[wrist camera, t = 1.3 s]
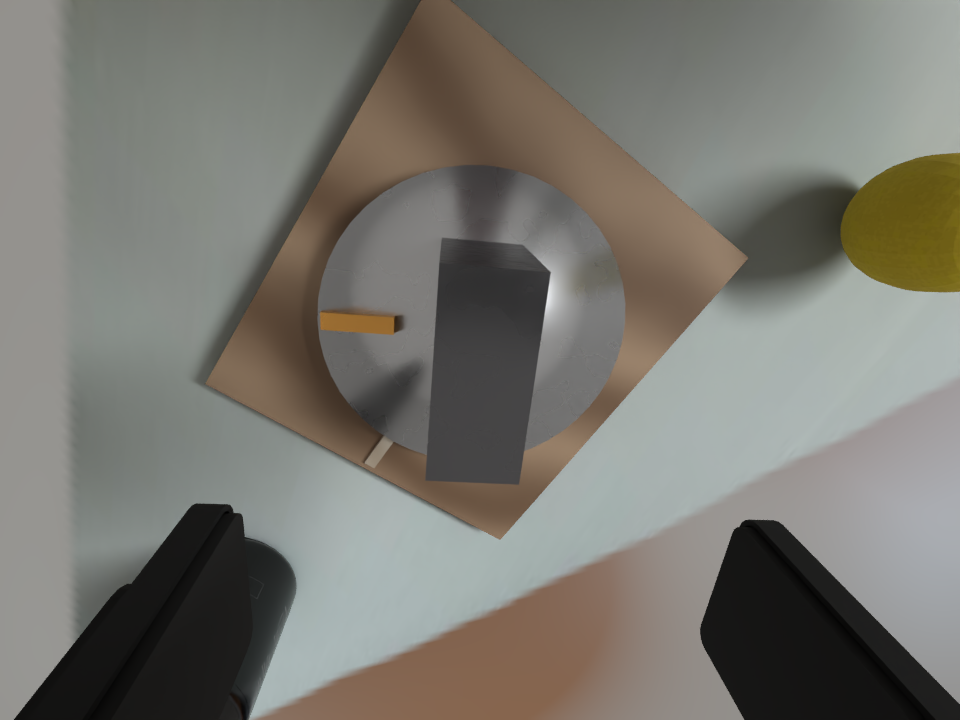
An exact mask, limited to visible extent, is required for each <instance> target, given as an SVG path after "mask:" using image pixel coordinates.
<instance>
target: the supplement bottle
mask: <svg viewBox="0 0 960 720" xmlns="http://www.w3.org/2000/svg"><path fill="white" fill-rule="evenodd" d="M245 545H246V556H247V567H248V577H249V588H250V598H251V609H252V620H253V631H252V637H251V641H250V645H249V647H248V650H247V653H246V655H245V657H244V660H243V662H242V665H241V667H240V670H239V672H238V674H237V677H236V679H235V682H234V684H233V687H232V689H231V691H230V694H229V696H228V699H227V701H226V704H225V706H224V708H223V711H222V713H221V716H220V718H219V720H249V718H250V715H251V712H252V710H253V707H254V704H255V702H256V699H257V697H258V694H259V691H260V689H261V686H262V683H263V681H264V678H265V675H266V673H267V670H268V668H269V665H270V662H271V660H272V657H273V654H274V652H275V649H276V646H277V644H278V641H279V639H280V636H281V633H282V631H283V628H284V625H285V623H286V620H287V618H288V615H289V612H290V609H291V607H292V604H293V601H294V598H295V594H296V578H295V574H294V572H293V569H292V567H291V566H290V564H289V563H288V561H287V560H286V559H285V558H284V557H283V556H282V555H281V554H280V553H279V552H278V551H276V550H275V549H273V548H271V547H270V546H268V545H266V544H263V543H261V542H258V541H255V540H250V539H245Z"/></svg>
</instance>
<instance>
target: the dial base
mask: <svg viewBox="0 0 960 720" xmlns="http://www.w3.org/2000/svg"><path fill="white" fill-rule="evenodd" d="M462 165H485V166H495V167H500V168H506V169H512V170H515V171H518V172H521V173H524V174H527V175H530V176H533V177H535V178H537V179H539V180H541V181H543V182H545V183H547V184H550V185H552V186H553V187H555V188H556V189H558V190H559V191H561V192H562V193H564V194H565V195H566V196H568V197H569V198H571V199H572V200H573V201H574V202H575V203H576V204H577V205H578V206H580V207H581V208H582V209H583V210H584V211H585V212H586V213H587V214H588V215H589V217H590V218H591V219H592V220H593V222H594V223H595V224H596V225H597V226H598V228H599V229H600V231H601V232H602V234H603V236H604V237H605V239H606V241H607V242H608V244H609V246H610V248H611V250H612V252H613V255H614V257H615V259H616V262H617V264H618V267H619V271H620V275H621V279H622V282H623V289H624V297H625V326H624V333H623V340H622V344H621V347H620V351H619V354H618V358H617V360H616V363H615V365H614V368H613V370H612V372H611V375H610V377H609V378H608V380H607V382H606V383H605V385H604V387H603V389H602V390H601V392H600V393H599V395H598V396H597V397H596V399H595V400H594V401H593V402H592V404H591V405H590V406H589V407H588V408H587V409H586V410H585V412H584V413H583V414H582V415H581V416H580V417H579V418H578V419H577V420H575V421H574V422H573V423H572V424H571V425H569V426H568V427H567V428H566V429H564V430H563V431H562V432H560V433H559V434H557V435H555V436H554V437H552V438H551V439H549V440H548V441H545V442H543V443H541V444H539V445H537V446H535V447H533V448H531V449H528V450H525V451H524V455H523V462H522V469H521V475H520V482H519V485H514V484H490V483H467V482H444V481H425V476H426V461H427V455H425V454H422V453H419V452H416V451H414V450H411V449H408V448H406V447H404V446H402V445H400V444H398V443H396V442H394V441H392V440H390V439H389V438H387V437H386V436H384V435H382V434H381V433H379V432H378V431H376V430H375V429H374V428H373V427H372V426H370V425H369V424H368V423H367V422H366V421H364V420H363V419H362V418H361V417H360V416H359V415H358V414H357V412H356V411H355V410H354V409H353V408H352V407H351V406H350V405H349V403H348V402H347V401H346V399H345V398H344V397H343V395H342V394H341V392H340V391H339V389H338V387H337V385H336V384H335V382H334V380H333V378H332V376H331V374H330V372H329V369H328V367H327V364H326V362H325V359H324V356H323V352H322V348H321V343H320V339H319V330H318V320H317V316H318V297H319V292H320V286H321V281H322V277H323V274H324V271H325V268H326V265H327V262H328V259H329V257H330V255H331V253H332V251H333V249H334V247H335V245H336V243H337V241H338V240H339V238H340V237H341V235H342V234H343V233H344V231H345V230H346V228H347V227H348V225H349V224H350V223H351V222H352V220H353V219H354V218H355V217H356V216H357V215H358V214H359V213H360V212H361V211H362V210H363V209H364V208H365V207H366V206H367V205H368V204H369V203H371V202H372V201H373V200H374V199H376V198H377V197H378V196H379V195H381V194H382V193H383V192H385V191H387V190H389V189H390V188H392V187H394V186H395V185H397V184H399V183H400V182H402V181H405V180H407V179H409V178H412V177H414V176H417V175H419V174H422V173H425V172H429V171H433V170H436V169H440V168H444V167H453V166H462ZM747 259H748V257H747V256H746V255H745V254H743V253H742V252H741V251H740V250H739V249H738V248H736V247H735V246H734V245H733V244H732V243H731V242H730V241H728V240H727V239H726V238H725V237H724V236H723V235H721V234H720V233H719V232H718V231H717V230H716V229H715V228H713V227H712V226H711V225H710V224H709V223H708V222H706V221H705V220H704V219H703V218H702V217H701V216H699V215H698V214H697V213H696V212H695V211H694V210H693V209H691V208H690V207H689V206H688V205H687V204H686V203H684V202H683V201H682V200H681V199H680V198H679V197H677V196H676V195H675V194H674V193H673V192H672V191H671V190H669V189H668V188H667V187H666V186H665V185H664V184H662V183H661V182H660V181H659V180H658V179H657V178H656V177H654V176H653V175H652V174H651V173H650V172H649V171H647V170H646V169H645V168H644V167H643V166H642V165H640V164H639V163H638V162H637V161H636V160H635V159H634V158H632V157H631V156H630V155H629V154H628V153H627V152H625V151H624V150H623V149H622V148H621V147H620V146H619V145H617V144H616V143H615V142H614V141H613V140H612V139H610V138H609V137H608V136H607V135H606V134H605V133H603V132H602V131H601V130H600V129H599V128H598V127H597V126H595V125H594V124H593V123H592V122H591V121H590V120H588V119H587V118H586V117H585V116H584V115H583V114H582V113H580V112H579V111H578V110H577V109H576V108H575V107H573V106H572V105H571V104H570V103H569V102H568V101H566V100H565V99H564V98H563V97H562V96H561V95H560V94H558V93H557V92H556V91H555V90H554V89H553V88H551V87H550V86H549V85H548V84H547V83H546V82H544V81H543V80H542V79H541V78H540V77H539V76H538V75H536V74H535V73H534V72H533V71H532V70H531V69H529V68H528V67H527V66H526V65H525V64H524V63H523V62H521V61H520V60H519V59H518V58H517V57H516V56H514V55H513V54H512V53H511V52H510V51H509V50H507V49H506V48H505V47H504V46H503V45H502V44H501V43H499V42H498V41H497V40H496V39H495V38H494V37H492V36H491V35H490V34H489V33H488V32H487V31H486V30H484V29H483V28H482V27H481V26H480V25H479V24H477V23H476V22H475V21H474V20H473V19H472V18H470V17H469V16H468V15H467V14H466V13H465V12H464V11H462V10H461V9H460V8H459V7H458V6H457V5H455V4H454V3H453V2H452V1H451V0H421V1H420V3H419V5H418V7H417V8H416V10H415V12H414V14H413V15H412V17H411V19H410V21H409V23H408V24H407V26H406V28H405V30H404V31H403V33H402V35H401V37H400V39H399V40H398V42H397V44H396V46H395V47H394V49H393V51H392V53H391V55H390V56H389V58H388V60H387V62H386V63H385V65H384V67H383V69H382V70H381V72H380V74H379V76H378V78H377V79H376V81H375V83H374V85H373V86H372V88H371V90H370V92H369V94H368V95H367V97H366V99H365V101H364V102H363V104H362V106H361V108H360V110H359V111H358V113H357V115H356V117H355V118H354V120H353V122H352V124H351V126H350V127H349V129H348V131H347V133H346V134H345V136H344V138H343V140H342V142H341V143H340V145H339V147H338V149H337V150H336V152H335V154H334V156H333V158H332V159H331V161H330V163H329V165H328V166H327V168H326V170H325V172H324V174H323V175H322V177H321V179H320V181H319V182H318V184H317V186H316V188H315V190H314V191H313V193H312V195H311V197H310V198H309V200H308V202H307V204H306V205H305V207H304V209H303V211H302V213H301V214H300V216H299V218H298V220H297V221H296V223H295V225H294V227H293V229H292V230H291V232H290V234H289V236H288V237H287V239H286V241H285V243H284V245H283V246H282V248H281V250H280V252H279V253H278V255H277V257H276V259H275V261H274V262H273V264H272V266H271V268H270V269H269V271H268V273H267V275H266V277H265V278H264V280H263V282H262V284H261V285H260V287H259V289H258V291H257V293H256V294H255V296H254V298H253V300H252V301H251V303H250V305H249V307H248V309H247V310H246V312H245V314H244V316H243V317H242V319H241V321H240V323H239V325H238V326H237V328H236V330H235V332H234V333H233V335H232V337H231V339H230V340H229V342H228V344H227V346H226V348H225V349H224V351H223V353H222V355H221V356H220V358H219V360H218V362H217V364H216V365H215V367H214V369H213V371H212V372H211V374H210V376H209V378H208V380H207V381H206V383H205V384H206V385H208V386H210V387H212V388H214V389H216V390H218V391H219V392H221V393H223V394H225V395H227V396H229V397H231V398H233V399H235V400H236V401H238V402H240V403H242V404H244V405H246V406H248V407H250V408H252V409H253V410H255V411H257V412H259V413H261V414H263V415H265V416H267V417H269V418H271V419H272V420H274V421H276V422H278V423H280V424H282V425H284V426H286V427H288V428H289V429H291V430H293V431H295V432H297V433H299V434H301V435H303V436H305V437H306V438H308V439H310V440H312V441H314V442H316V443H318V444H320V445H322V446H324V447H325V448H327V449H329V450H331V451H333V452H335V453H337V454H339V455H341V456H342V457H344V458H346V459H348V460H350V461H352V462H354V463H356V464H358V465H359V466H361V467H363V468H365V469H367V470H369V471H371V472H373V473H375V474H376V475H378V476H380V477H382V478H384V479H386V480H388V481H390V482H392V483H394V484H395V485H397V486H399V487H401V488H403V489H405V490H407V491H409V492H411V493H412V494H414V495H416V496H418V497H420V498H422V499H424V500H426V501H428V502H429V503H431V504H433V505H435V506H437V507H439V508H441V509H443V510H445V511H447V512H448V513H450V514H452V515H454V516H456V517H458V518H460V519H462V520H464V521H465V522H467V523H469V524H471V525H473V526H475V527H477V528H479V529H481V530H482V531H484V532H486V533H488V534H490V535H492V536H494V537H496V538H498V539H501V538H502V537H503V536H504V535H505V534H506V533H507V531H508V530H509V529H510V528H511V527H512V526H513V525H514V524H515V522H516V521H517V520H518V519H519V518H520V517H521V516H522V514H523V513H524V512H525V511H526V510H527V509H528V508H529V507H530V505H531V504H532V503H533V502H534V501H535V500H536V499H537V497H538V496H539V495H540V494H541V493H542V492H543V491H544V490H545V488H546V487H547V486H548V485H549V484H550V483H551V482H552V480H553V479H554V478H555V477H556V476H557V475H558V474H559V472H560V471H561V470H562V469H563V468H564V467H565V466H566V465H567V463H568V462H569V461H570V460H571V459H572V458H573V457H574V455H575V454H576V453H577V452H578V451H579V450H580V449H581V448H582V446H583V445H584V444H585V443H586V442H587V441H588V440H589V438H590V437H591V436H592V435H593V434H594V433H595V432H596V431H597V429H598V428H599V427H600V426H601V425H602V424H603V423H604V421H605V420H606V419H607V418H608V417H609V416H610V415H611V413H612V412H613V411H614V410H615V409H616V408H617V407H618V406H619V404H620V403H621V402H622V401H623V400H624V399H625V398H626V396H627V395H628V394H629V393H630V392H631V391H632V390H633V389H634V387H635V386H636V385H637V384H638V383H639V382H640V381H641V379H642V378H643V377H644V376H645V375H646V374H647V373H648V372H649V370H650V369H651V368H652V367H653V366H654V365H655V364H656V362H657V361H658V360H659V359H660V358H661V357H662V356H663V354H664V353H665V352H666V351H667V350H668V349H669V348H670V347H671V345H672V344H673V343H674V342H675V341H676V340H677V339H678V337H679V336H680V335H681V334H682V333H683V332H684V331H685V330H686V328H687V327H688V326H689V325H690V324H691V323H692V322H693V320H694V319H695V318H696V317H697V316H698V315H699V314H700V313H701V311H702V310H703V309H704V308H705V307H706V306H707V305H708V303H709V302H710V301H711V300H712V299H713V298H714V297H715V295H716V294H717V293H718V292H719V291H720V290H721V289H722V288H723V286H724V285H725V284H726V283H727V282H728V281H729V280H730V278H731V277H732V276H733V275H734V274H735V273H736V272H737V271H738V269H739V268H740V267H741V266H742V265H743V264H744V263H745V261H746V260H747Z"/></svg>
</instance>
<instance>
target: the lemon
mask: <svg viewBox="0 0 960 720" xmlns="http://www.w3.org/2000/svg"><path fill="white" fill-rule="evenodd" d="M841 242H842V245H843V249H844V251H845V253H846V255H847V256H848V258H849V259H850V261H851V262H852V264H853V265H854V266H855V267H857V268H858V269H859V270H861V271H862V272H863V273H865V274H866V275H867V276H869V277H870V278H872V279H874V280H877V281H879V282H882V283H885V284H888V285H891V286H894V287H897V288H901V289H905V290H911V291H923V292H959V291H960V153H951V154H939V155H930V156H924V157H920V158H916V159H913V160H910V161H907V162H904V163H901V164H898V165H896V166H893V167H891V168H889V169H887V170H885V171H884V172H882V173H880V174H879V175H877V176H876V177H874V178H873V179H871V180H870V181H869V182H868V183H866V184H865V185H864V186H863V187H862V188H861V189H860V190H859V191H858V192H857V193H856V195H855V196H854V197H853V199H852V200H851V201H850V203H849V204H848V206H847V208H846V210H845V213H844V215H843V219H842V223H841Z"/></svg>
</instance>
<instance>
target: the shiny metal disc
mask: <svg viewBox="0 0 960 720" xmlns="http://www.w3.org/2000/svg"><path fill="white" fill-rule="evenodd" d="M317 320H318V330H319V339H320V343H321V348H322V352H323V356H324V359H325V362H326V364H327V367H328V369H329V372H330V374H331V376H332V378H333V380H334V382H335V384H336V385H337V387H338V389H339V391H340V392H341V394H342V395H343V397H344V398H345V399H346V401H347V402H348V403H349V405H350V406H351V407H352V408H353V409H354V410H355V411H356V412H357V414H358V415H359V416H360V417H361V418H362V419H363V420H364V421H366V422H367V423H368V424H369V425H370V426H372V427H373V428H374V429H375V430H376V431H378V432H379V433H381V434H382V435H384V436H386V437H387V438H389V439H390V440H392V441H394V442H396V443H398V444H400V445H402V446H404V447H406V448H408V449H411V450H414V451H416V452H419V453H422V454H425V455H427V461H426V476H425V481H444V482H467V483H490V484H514V485H519V482H520V475H521V469H522V462H523V455H524V451H525V450H528V449H531V448H533V447H535V446H537V445H539V444H541V443H543V442H545V441H548V440H549V439H551V438H552V437H554V436H555V435H557V434H559V433H560V432H562V431H563V430H564V429H566V428H567V427H568V426H569V425H571V424H572V423H573V422H574V421H575V420H577V419H578V418H579V417H580V416H581V415H582V414H583V413H584V412H585V410H586V409H587V408H588V407H589V406H590V405H591V404H592V402H593V401H594V400H595V399H596V397H597V396H598V395H599V393H600V392H601V390H602V389H603V387H604V385H605V383H606V382H607V380H608V378H609V377H610V375H611V372H612V370H613V368H614V365H615V363H616V360H617V358H618V354H619V351H620V347H621V344H622V340H623V333H624V326H625V297H624V289H623V282H622V279H621V275H620V271H619V267H618V264H617V262H616V259H615V257H614V255H613V252H612V250H611V248H610V246H609V244H608V242H607V241H606V239H605V237H604V236H603V234H602V232H601V231H600V229H599V228H598V226H597V225H596V224H595V223H594V222H593V220H592V219H591V218H590V217H589V215H588V214H587V213H586V212H585V211H584V210H583V209H582V208H581V207H580V206H578V205H577V204H576V203H575V202H574V201H573V200H572V199H571V198H569V197H568V196H566V195H565V194H564V193H562V192H561V191H559V190H558V189H556V188H555V187H553V186H552V185H550V184H547V183H545V182H543V181H541V180H539V179H537V178H535V177H533V176H530V175H527V174H524V173H521V172H518V171H515V170H512V169H506V168H500V167H495V166H485V165H462V166H453V167H444V168H440V169H436V170H433V171H429V172H425V173H422V174H419V175H417V176H414V177H412V178H409V179H407V180H405V181H402V182H400V183H399V184H397V185H395V186H394V187H392V188H390V189H389V190H387V191H385V192H383V193H382V194H381V195H379V196H378V197H377V198H376V199H374V200H373V201H372V202H371V203H369V204H368V205H367V206H366V207H365V208H364V209H363V210H362V211H361V212H360V213H359V214H358V215H357V216H356V217H355V218H354V219H353V220H352V222H351V223H350V224H349V225H348V227H347V228H346V230H345V231H344V233H343V234H342V235H341V237H340V238H339V240H338V241H337V243H336V245H335V247H334V249H333V251H332V253H331V255H330V257H329V259H328V262H327V265H326V268H325V271H324V274H323V277H322V281H321V286H320V292H319V297H318V316H317Z"/></svg>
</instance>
